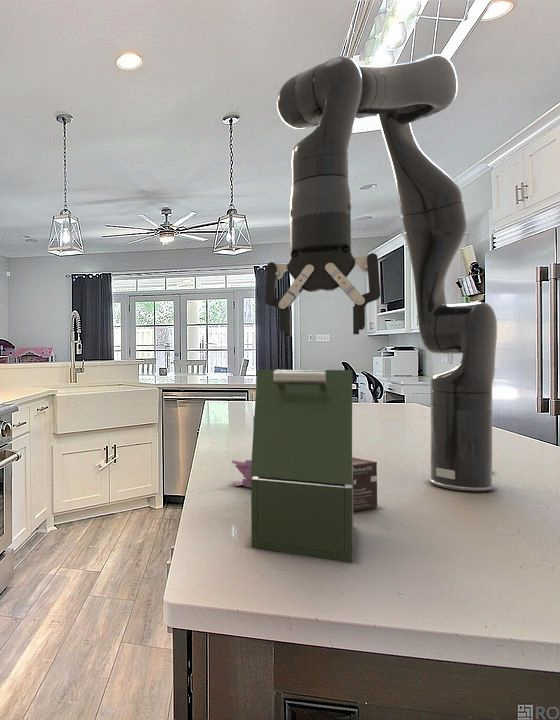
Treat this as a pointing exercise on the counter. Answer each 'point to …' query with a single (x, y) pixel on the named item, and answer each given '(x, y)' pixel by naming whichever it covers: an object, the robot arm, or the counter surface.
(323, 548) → the bin
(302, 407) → the bin lid
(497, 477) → the counter surface
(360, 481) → the box
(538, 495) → the counter surface
